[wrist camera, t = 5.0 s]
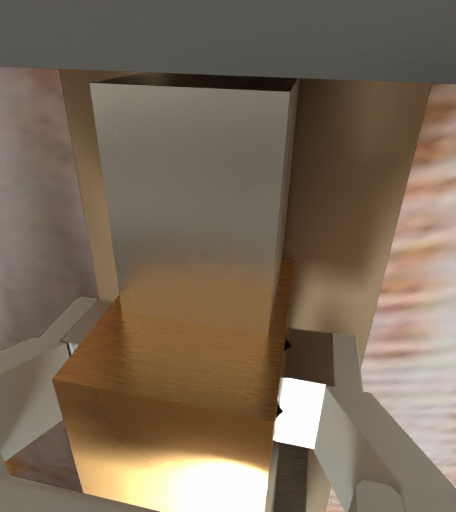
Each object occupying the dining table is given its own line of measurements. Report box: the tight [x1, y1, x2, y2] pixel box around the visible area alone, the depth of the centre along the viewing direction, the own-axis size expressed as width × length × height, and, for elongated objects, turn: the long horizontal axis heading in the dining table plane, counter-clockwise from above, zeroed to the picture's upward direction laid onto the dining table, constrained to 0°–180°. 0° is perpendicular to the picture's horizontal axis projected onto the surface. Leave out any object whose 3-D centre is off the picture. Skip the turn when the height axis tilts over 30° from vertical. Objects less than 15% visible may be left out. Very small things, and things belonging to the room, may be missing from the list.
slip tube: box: [52, 72, 300, 512], centre depth 9 cm, size 3×14×5 cm, turn 179°
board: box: [59, 69, 432, 512], centre depth 11 cm, size 8×23×1 cm, turn 179°
